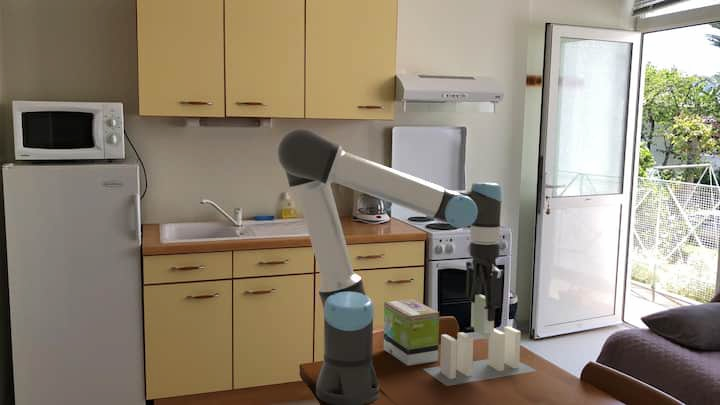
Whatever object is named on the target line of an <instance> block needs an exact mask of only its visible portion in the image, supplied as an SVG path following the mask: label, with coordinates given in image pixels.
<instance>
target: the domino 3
mask: <svg viewBox="0 0 720 405" xmlns="http://www.w3.org/2000/svg"><path fill="white" fill-rule="evenodd" d="M487 353H488V354H487V359H488V365H489V366H491V367H493V368H494V369H496V370H498V371H503V370H504V355H505V333H504V331H501V330H498V329H497V328H495V327H494V332H491V333H490V336H488V346H487Z"/></svg>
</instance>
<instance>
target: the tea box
mask: <svg viewBox="0 0 720 405" xmlns="http://www.w3.org/2000/svg"><path fill="white" fill-rule="evenodd" d="M439 328H440V311H438V310H435V309H433V308H431V307H430V306H427V305H425V304H423V303H421V302H420V301H418V300H416V299H414V298H411V299H410V298H409V299H402V300H393V301H385V302H384V305H383V351H385V352H387V353H388V354H390V355H392V356H393V357H394V358H396V359H397V360H399V361H400V362H402V363H403V364H405V365H406V366H413V365H419V364H426V363H427V364H428V363H433V362H438V361H439V332H440V329H439Z"/></svg>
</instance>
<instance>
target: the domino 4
mask: <svg viewBox="0 0 720 405" xmlns="http://www.w3.org/2000/svg"><path fill="white" fill-rule="evenodd" d="M503 333H505V355H504V363H505V364H507V365H509V366H510V367H512V368H514V369H515V368H519V361H520V357H521V356H520V354H521V337H522V336H521V335H522V333H521V331H520V330H519V329H516V328H514V327H511V326H503Z"/></svg>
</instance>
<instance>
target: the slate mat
mask: <svg viewBox="0 0 720 405" xmlns="http://www.w3.org/2000/svg"><path fill="white" fill-rule="evenodd" d="M422 370H423V371H424V372H426V373H428V374H429V375H431V377H433V378H434V379H436V380H437V381H438V382H440V383H442V384H443V385H445V386H446V387H449V386H455V385H461V384H467V383H474V382H481V381H485V380H486V381H487V380H491V379H498V378H503V377H509V376H515V375H522V374H529V373H534V372H537V371H538V370H537V369H535V368H533V367H531V366H529V365H527V364H525V363H523V362H521V361H520V360H519V368H515V369H514V368H512V367H510V366H509V365H507V364H505V363H504V370H503V371H498V370H496V369H494V368H493V367H491V366H489V365H488V358H486V359H481V360H473V364H472V376H466V375H464V374H463V373H461V372H459V371H458V370H456V378H453V379H449V378H448V377H447V376H445V375H444V374H442V373H441V372H440V365H439V366H432V367H428V368H422Z"/></svg>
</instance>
